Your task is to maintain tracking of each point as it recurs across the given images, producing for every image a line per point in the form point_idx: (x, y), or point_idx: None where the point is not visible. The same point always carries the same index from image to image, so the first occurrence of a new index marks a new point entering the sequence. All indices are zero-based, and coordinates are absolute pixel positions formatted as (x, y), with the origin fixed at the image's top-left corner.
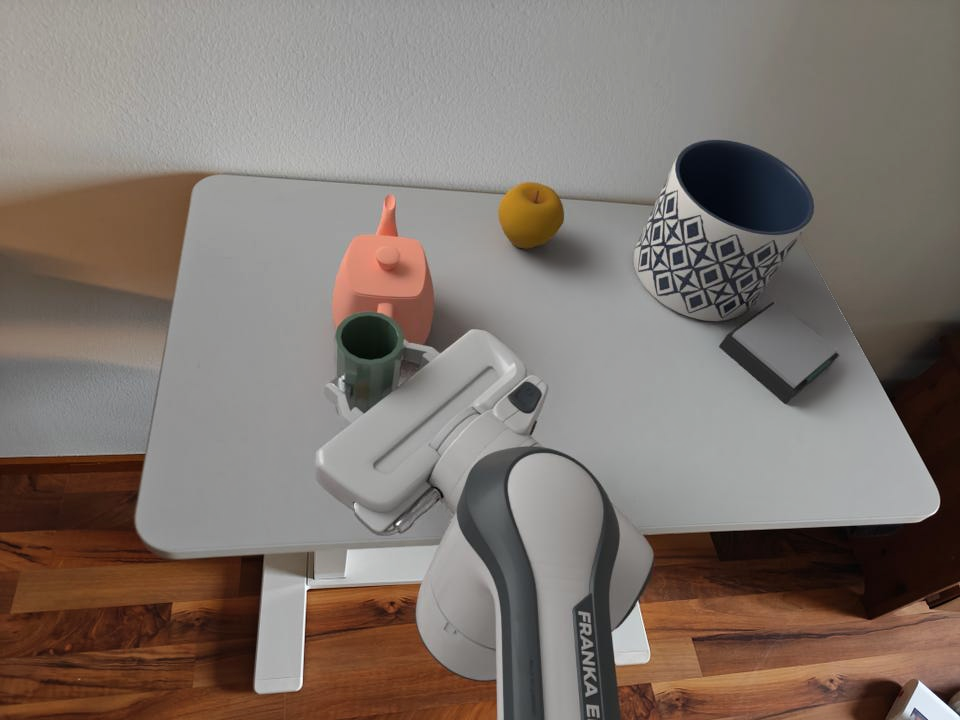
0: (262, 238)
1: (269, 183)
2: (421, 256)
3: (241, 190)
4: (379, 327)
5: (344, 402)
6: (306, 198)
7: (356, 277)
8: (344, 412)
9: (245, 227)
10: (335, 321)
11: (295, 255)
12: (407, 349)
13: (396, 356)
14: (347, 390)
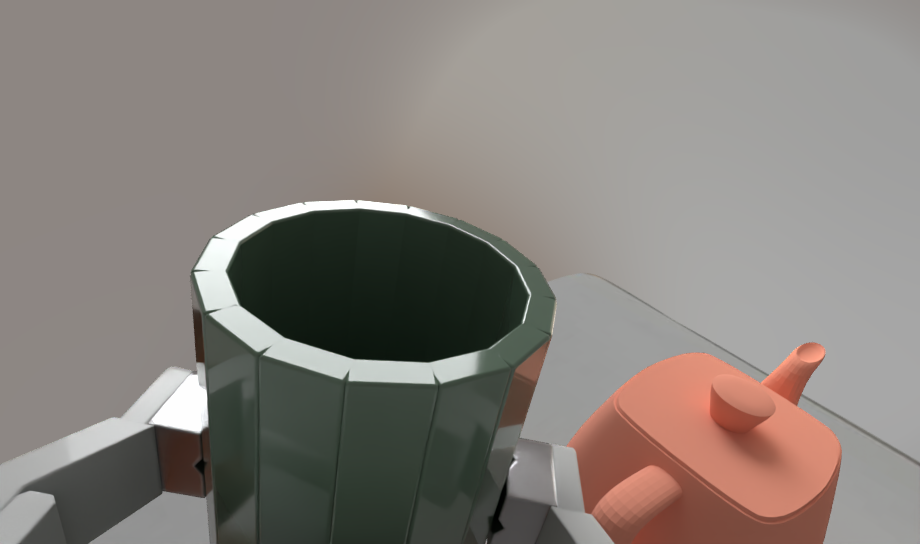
0: (583, 338)
1: (645, 310)
2: (827, 462)
3: (608, 297)
4: (498, 328)
5: (82, 446)
6: (678, 344)
7: (645, 392)
8: (4, 472)
9: (576, 320)
10: None
11: (604, 376)
12: (554, 525)
13: (360, 397)
14: (177, 432)
